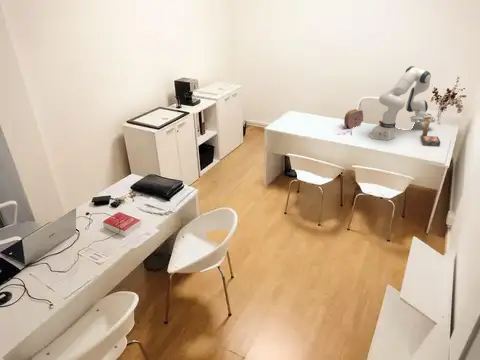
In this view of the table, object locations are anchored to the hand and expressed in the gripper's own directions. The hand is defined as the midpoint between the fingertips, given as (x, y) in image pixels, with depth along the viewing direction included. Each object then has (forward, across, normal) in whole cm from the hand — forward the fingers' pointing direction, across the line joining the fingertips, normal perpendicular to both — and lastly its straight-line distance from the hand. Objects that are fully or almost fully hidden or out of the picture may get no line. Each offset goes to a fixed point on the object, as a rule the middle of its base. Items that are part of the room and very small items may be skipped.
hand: (424, 122), depth 328 cm
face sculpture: (-9, -62, +10) cm, 63 cm away
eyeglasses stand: (+12, 0, +10) cm, 16 cm away
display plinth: (+24, +3, +10) cm, 26 cm away
